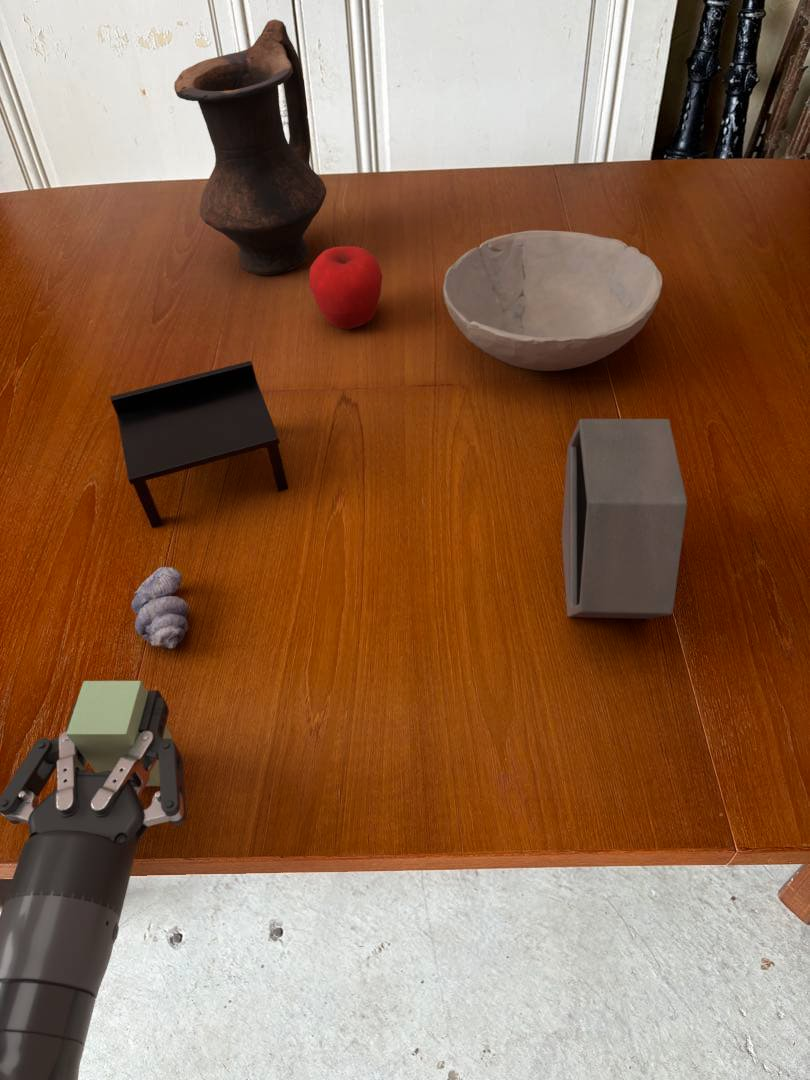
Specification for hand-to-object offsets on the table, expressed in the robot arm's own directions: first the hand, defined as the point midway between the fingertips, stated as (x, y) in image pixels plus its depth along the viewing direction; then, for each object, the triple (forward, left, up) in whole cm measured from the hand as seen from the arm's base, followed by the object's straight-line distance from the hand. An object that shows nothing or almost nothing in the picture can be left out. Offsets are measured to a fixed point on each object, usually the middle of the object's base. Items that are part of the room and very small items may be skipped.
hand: (125, 696), depth 66 cm
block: (-1, -2, -6) cm, 7 cm away
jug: (+30, +77, -9) cm, 83 cm away
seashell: (+3, +13, -9) cm, 16 cm away
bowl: (+57, +39, -9) cm, 70 cm away
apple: (+35, +55, -9) cm, 66 cm away
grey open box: (+45, +1, -9) cm, 46 cm away
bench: (+11, +32, -8) cm, 35 cm away
